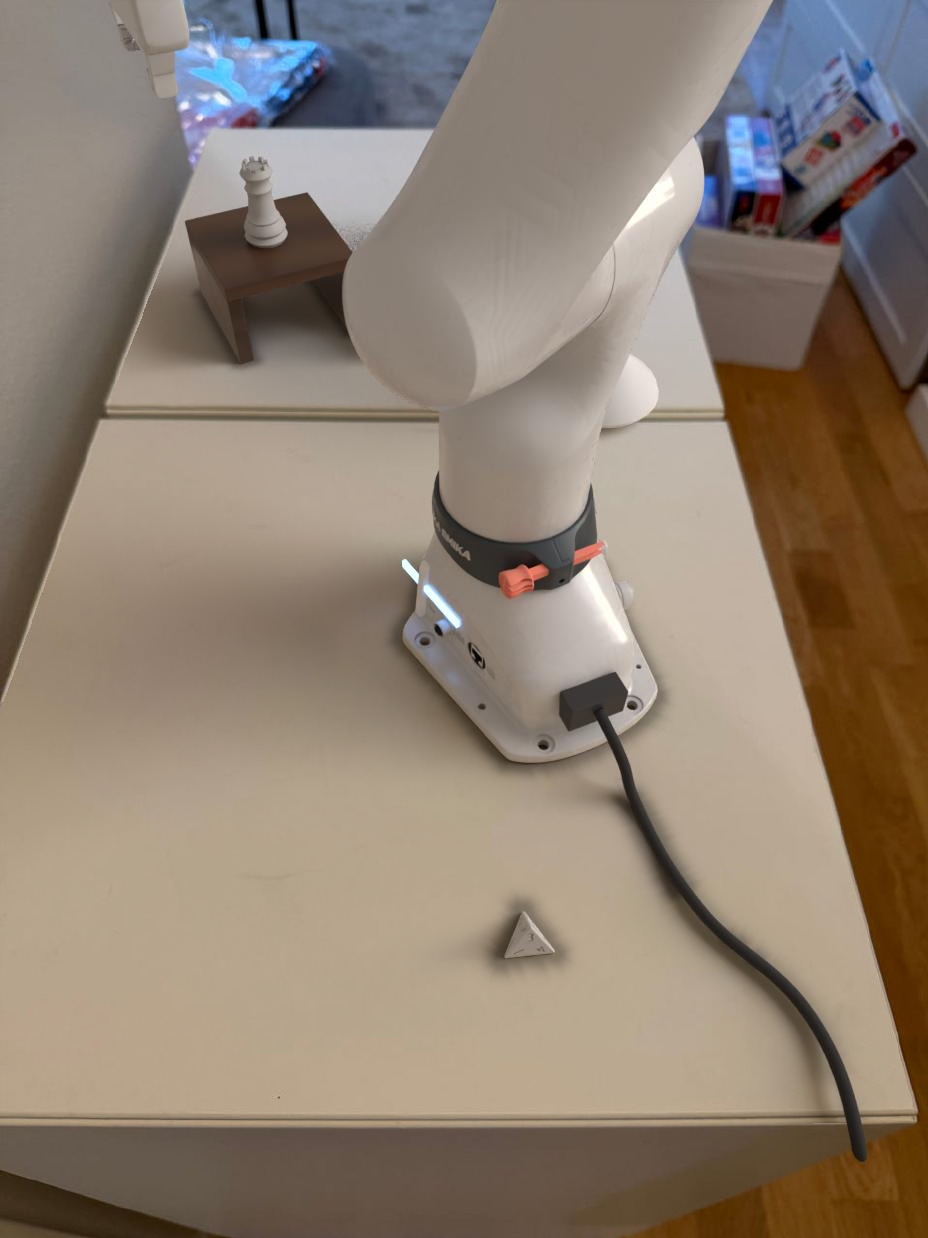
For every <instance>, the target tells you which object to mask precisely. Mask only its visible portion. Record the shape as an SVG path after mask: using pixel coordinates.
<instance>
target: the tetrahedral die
mask: <svg viewBox="0 0 928 1238" xmlns="http://www.w3.org/2000/svg"><path fill="white" fill-rule="evenodd" d="M555 952H556V950H555V949H554V948H553V946H552V945H551V944H550V942H549V941H548V939H546V937H545V936H544V935H543V933H542V932H541V931H540V929H539V927H538V926H536V924H535V923H534V922H533V920H532V919H531V918H530V917H529V915H528V914H527V912H526V911H525V910H523V911H521V914H520V916H519V919H518V921H517V924H516V925H515V929H514V931H513V933H512V936H511V938H510V941H509V943H508V945H507V949H506V951H505V953H504V956H503V957H504V959H511V958H521V957H529V956H539V955H547V954H548V955H549V954H555Z"/></svg>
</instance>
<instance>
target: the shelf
mask: <svg viewBox="0 0 928 1238" xmlns="http://www.w3.org/2000/svg"><path fill="white" fill-rule="evenodd" d="M273 200H274V204H275V207H276V210H277V211H279V213H280V216H282V217H283V219H284V221H285V224H286V226H285V228H286V230H287V232H288V233H287V237H286V239H285V240H284V242H283V243H282V244H280V245H278V246H276V247H273V248H258V247H255V246H253V245H252V244H250V243H249V242H248V241H247V240H246V238H245V233H246V231H245V229H244V223H245V220H246V219H247V218H246V216H247V214H248V205H246V206H241V207H237V208H233V209H229V210H225V211H220V212H215V213H212V214H208V215H207V214H206V215H203V216H199V217H195V218H189V219H186V220H184V224H185V229H186V233H187V237H188V241H189V245H190V249H191V255H192V258H193V263H194V267H195V271H196V274H197V280H198V284H199V288H200V292H201V295H202V297H203V299H204V301H205V303H206V305H207V306H208V308H209V310H210V311H211V313H212V315H213V317H214V318H215V320H216V323H217V324H218V326H219V327H220V329H221V331H222V333H223V335H224V336H225V338H226V341H227V342H228V343H229V346H230V347H231V349H232V351H233V353H234V355H235V356H236V358H237V360H238V362H239V363H240V365H243V364H246V363H250V362H254V361H255V358H254V357H255V356H254V352H253V348H252V347H253V346H252V343H251V342H252V341H251V338H250V333H249V328H248V323H247V318H246V313H245V308H244V304H243V299H246V298H250V297H254V296H258V295H262V294H265V293H269V292H273V291H277V290H280V289H285V288H288V287H292V286H296V285H300V284H304V283H307V282H312V281H313V282H314V284H315V285H316V286H317V288H318V289H319V291H320V293H321V294H322V296H323V297H324V298H325V299H326V301H327V302H328V304H329V305H330V307H331V309H333V311H334V313H335V314H336V316H337V317H338V319H339V320H340V321H341V323H342V324H343V326H344V327H345V328H346V330H347V331H348V329H347V326H346V322H345V317H344V311H343V302H342V284H343V275H344V270H345V267H346V264H347V262H348V260H349V258H350V256H351V254H352V253H353V252H354V251H352V249H351V248H350V247H349V245H348V244H347V242H346V241H345V240H344V239H343V237H342V236H341V234H339V232H338V230H337V229H336V228H335V227H334V226H333V224H332V223H331V222H330V219H328V217H327V216H326V214H325V213H324V212H323V211H322V210H321V208H320V207H319V205H318V204H317V202H315V200H314V199H313V198H312V195H310V194H309V192H308V191H306V192H301V193H297V194H294V195H293V194H292V195H289V196H285V197H281V198H276V199H273Z"/></svg>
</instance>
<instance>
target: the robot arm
mask: <svg viewBox="0 0 928 1238" xmlns="http://www.w3.org/2000/svg"><path fill="white" fill-rule="evenodd" d="M106 1H107V3H108V6H109V8H110V11H111V13H112V16H113V19H114V21H115V24H116V27H117V31H118V35H119V39H120V42H121V43H122V45H123V46H124V48H125V50H127V51H128V52H131V53H132V52H136V51H141V52H142V53H143V54H144V57H145V62H146V65H147V68H146V71H147V75H148V80H149V84H150V88H151V90H152V91H153V93H154V94H155V96H156V97H157V98H158V99H160V100H165V99H169V98H175V97H177V95H178V94H179V87H178V82H177V77H176V73H175V72H176V69H175V68H176V52H178V51H182V50H186V49H187V48H189V46H190V37H191V36H190V28H189V22H188V18H187V13H186V8H185V3H184V0H106ZM773 2H774V0H496V1H495V4H494V7H493V9H492V12H491V14H490V17H489V18H488V21H487V24H486V26H485V28H484V30H483V32H482V35H481V38H480V39H479V41H478V44H477V45H476V47H475V50H474V52H473V54H472V56H471V58H470V60H469V62H468V63H467V66H466V68H465V70H464V72H463V74H462V76H461V77H460V79H459V82H458V83H457V85H456V87H455V89H454V91H453V93H452V95H451V97H450V99H449V100H448V103H447V104H446V106H445V109H444V110H443V112H442V114H441V116H440V118H439V120H438V122H437V124H436V126H435V127H434V129H433V131H432V133H431V135H430V137H429V139H428V141H427V143H426V144H425V146H424V148H423V150H422V152H421V154H420V156H419V158H418V160H417V162H416V163H415V165H414V167H413V169H412V170H411V172H410V174H409V176H408V177H407V178H406V181H405V183H404V184H403V186H402V188H401V189H400V191H399V192H398V194H397V195H396V196H395V198H394V200H393V201H392V202H391V204H390V205H389V207H388V208H387V210H386V211H385V212H384V213H383V215H382V216H381V217H380V219H379V220H378V221H377V223H376V224H374V226H373V228H372V229H370V231H369V232H368V233H367V235H366V236H365V237H364V238H363V240H362V241H361V242H360V243H359V244H358V246H356V248H355V249H354V250H353V251H352V252H353V253H352V254H351V256H350V258H349V260H348V262H347V264H346V267H345V270H344V275H343V284H342V302H343V311H344V317H345V322H346V326H347V329H348V330H347V329H346V330H347V333H348V335H349V338H350V341H351V343H352V345H353V347H354V349H355V351H356V353H357V355H358V357H359V359H360V360H361V362H362V363H363V365H364V367H366V369H367V370H368V371H369V373H370V374H371V375H372V376H373V377H374V378H375V380H377V381H378V382H379V383H380V384H381V386H383V387H384V388H385V389H387V390H388V391H389V392H390V393H392V394H393V395H395V396H396V397H398V398H399V399H402V400H403V401H405V402H407V403H408V404H411V405H414V406H416V407H419V408H421V409H424V410H429V411H434V412H438V471H437V473H436V475H435V478H434V483H433V490H432V495H431V514H432V519H433V520H432V521H433V528H434V532H433V535H432V537H431V539H430V542H429V543H428V546H427V548H426V550H425V552H424V555H423V557H422V559H421V562H420V564H419V568H418V571H417V570H416V569H415V568H414V567H413V566H412V565H411V564H410V562H409V561H408V560H407V559H403V560H402V561H401V562H402V563H401V564H402V568H403V570H405V571H406V573H407V574H408V575H409V576H410V577H411V578H412V579H413V580H414V582H415V583H416V584H417V588H416V600H415V609H414V611H413V612H412V614H411V615H410V616H409V618H408V619H407V621H406V622H405V624H404V626H403V629H402V637H401V639H402V643H403V644H404V646H405V647H406V648H407V649H408V651H409V652H410V653H411V654H412V655H413V656H414V657H415V659H416V660H417V661H419V663H420V664H421V666H423V668H424V669H426V671H427V672H428V673H429V674H430V675H431V676H432V678H434V680H435V681H436V682H437V683H438V684H439V685H440V686H441V687H442V689H443V690H444V691H445V692H446V693H447V694H448V696H450V698H451V699H452V700H453V701H454V702H455V703H456V704H457V705H458V707H459V708H460V709H462V711H463V712H464V713H465V714H466V715H467V717H468V718H469V719H470V721H472V722H473V724H475V726H476V727H477V728H478V729H479V730H480V731H481V733H482V734H483V735H484V736H485V737H486V738H487V739H488V740H489V741H490V742H491V744H492V745H493V746H494V747H495V748H496V749H497V750H498V751H499V753H500V754H502V756H503V757H504V758H506V759H507V760H509V761H511V762H516V763H526V764H531V763H532V764H534V763H537V764H538V763H546V762H547V763H548V762H554V761H559V760H563V759H567V758H570V757H573V756H576V755H579V754H580V755H581V754H583V753H585V752H587V751H589V750H592V749H595V748H596V747H597V748H598V747H599V746H601V745H603V744H605V743H608V745H609V747H610V750H611V751H612V754H613V757H614V759H615V761H616V764H617V766H618V770H619V773H620V777H621V781H622V786H623V790H624V792H625V793H624V794H625V795H626V798H627V800H628V803H629V805H630V807H631V809H632V811H633V813H634V817H635V818H636V820H637V822H638V824H639V826H640V828H641V830H642V831H643V835H644V836H645V838H646V840H647V842H648V844H649V846H650V848H651V850H652V852H653V854H654V856H655V857H656V860H657V861H658V863H659V864H660V866H661V868H662V869H663V871H664V873H665V874H666V876H667V878H668V879H669V880H670V881H671V883H672V885H673V887H675V889H676V890H677V892H678V893H679V894H680V896H681V897H682V899H683V900H684V901H685V902H686V904H687V905H688V906H689V908H690V909H691V910H692V911H693V913H694V914H695V915H696V916H697V918H699V920H700V921H701V922H702V923H703V925H705V927H706V928H707V929H708V930H709V931H710V932H711V933H712V934H713V935H714V936H715V937H716V938H717V939H719V940H720V941H721V942H722V943H724V945H726V947H728V948H729V949H730V950H731V951H733V952H734V953H735V954H736V955H737V956H739V957H740V958H742V959H743V960H744V961H745V962H746V963H748V964H749V965H750V966H752V967H753V968H754V969H755V970H757V971H758V972H759V973H760V974H762V975H763V976H764V977H765V978H767V980H769V981H770V982H771V983H772V984H773V985H774V986H775V987H776V988H778V989H779V991H780V992H781V993H782V994H783V995H784V996H785V997H786V998H787V999H788V1000H789V1001H790V1002H791V1004H792V1005H793V1006H794V1007H795V1008H796V1010H797V1012H798V1013H799V1015H801V1017H802V1018H803V1020H804V1021H805V1022H806V1024H807V1025H808V1027H809V1029H810V1031H811V1032H812V1034H813V1035H814V1037H815V1039H816V1041H817V1043H818V1045H819V1046H820V1048H821V1050H822V1052H823V1055H824V1057H825V1058H826V1061H827V1063H828V1066H829V1068H830V1070H831V1073H832V1076H833V1078H834V1082H835V1085H836V1088H837V1091H838V1094H839V1098H840V1102H841V1105H842V1108H843V1114H844V1117H845V1122H846V1127H847V1131H848V1136H849V1141H850V1147H851V1152H852V1154H853V1157H854V1158H855V1159H856V1160H857V1161H858V1162H862V1163H865V1162H867V1160H868V1149H867V1143H866V1138H865V1137H866V1136H865V1132H864V1128H863V1123H862V1118H861V1115H860V1111H859V1107H858V1103H857V1098H856V1095H855V1092H854V1089H853V1086H852V1082H851V1080H850V1077H849V1074H848V1072H847V1069H846V1066H845V1064H844V1061H843V1059H842V1057H841V1054H840V1052H839V1050H838V1048H837V1046H836V1044H835V1043H834V1041H833V1039H832V1036H831V1034H830V1033H829V1031H828V1030H827V1028H826V1026H825V1025H824V1023H823V1022H822V1020H821V1018H820V1017H819V1016H818V1014H817V1013H816V1011H815V1010H814V1008H813V1007H812V1006H811V1004H810V1003H809V1002H808V1001H807V999H806V998H805V996H804V995H803V994H802V993H801V992H800V991H799V989H797V988H796V986H795V985H793V983H792V982H791V981H790V980H789V979H788V978H787V977H785V975H783V974H782V972H780V971H779V970H778V969H777V968H775V967H774V966H773V965H772V964H771V963H770V962H769V961H767V960H766V959H764V958H763V957H762V956H760V955H759V954H758V953H757V952H756V951H754V950H753V949H752V948H750V947H749V946H748V945H746V944H745V943H744V942H743V941H742V940H740V939H739V938H738V937H737V936H735V935H734V934H733V933H732V932H731V931H730V930H728V929H727V928H726V927H725V925H723V924H722V923H721V922H720V921H719V920H718V919H717V918H716V917H715V916H714V915H713V914H712V913H711V912H710V911H709V909H708V908H707V907H706V906H705V904H704V903H703V902H702V901H701V899H700V898H699V896H698V895H696V893H695V891H694V890H693V888H692V887H691V885H689V884H688V882H687V881H686V879H685V878H684V877H683V875H682V873H681V872H680V871H679V868H678V867H677V866H676V864H675V863H674V861H673V860H672V858H671V857H670V855H669V852H667V850H666V848H665V846H664V845H663V843H662V841H661V839H660V837H659V835H658V834H657V831H656V829H655V827H654V825H653V823H652V821H651V819H650V817H649V815H648V813H647V811H646V808H645V806H644V804H643V802H642V800H641V797H640V794H639V792H638V790H637V787H636V784H635V779H634V774H633V770H632V766H631V763H630V760H629V758H628V756H627V753H626V750H625V749H624V746H623V744H622V741H621V740H620V737H619V736H620V735H622V734H623V733H625V732H627V731H628V730H629V729H631V728H632V727H634V725H637V723H638V722H639V721H640V720H642V718H644V717H645V715H646V714H647V713H648V712H649V711H650V709H651V708H652V707H653V705H654V702H655V701H656V699H657V697H658V689H659V688H658V685H657V681H656V679H655V677H654V675H653V673H652V670H651V669H650V666H649V665H648V662H647V660H646V659H645V656H644V654H643V652H642V650H641V647H640V645H639V643H638V641H637V639H636V637H635V635H634V632H633V630H632V627H631V625H630V622H629V619H628V617H627V614H626V612H625V610H628V609H631V608H633V607H634V606H635V602H636V596H635V591H634V588H633V586H632V585H631V582H629V581H628V580H626V579H624V580H618V581H615V582H614V580H613V576H612V573H611V571H610V568H609V567H608V563H607V561H606V559H605V556H607V555H608V553H609V546H608V542H607V541H606V539H605V538H598V528H597V527H598V526H597V516H596V514H597V513H598V512H597V503H596V499H595V498H594V497H595V496H594V489H593V484H592V478H593V472H594V467H595V462H596V458H597V452H598V448H599V447H598V446H599V441H600V438H601V437H600V436H601V431H602V428H601V427H602V424H603V420H604V417H605V414H606V410H607V408H608V405H609V402H610V400H611V397H612V394H613V392H614V390H615V387H616V385H617V382H618V380H619V378H620V375H621V373H622V371H623V369H624V366H625V364H626V362H627V359H628V357H629V355H630V354H631V353H632V350H633V349H634V345H635V343H636V340H637V339H638V336H639V333H640V331H641V328H642V326H643V323H644V321H645V318H646V316H647V313H648V311H649V308H650V306H651V303H652V301H653V298H654V296H655V293H656V292H657V290H658V287H659V285H660V282H661V281H662V278H663V276H664V274H665V272H666V270H667V268H668V266H669V264H670V263H671V261H672V259H673V257H674V255H675V253H676V251H678V248H679V246H680V245H681V243H682V242H683V240H684V239H685V237H686V235H687V233H688V232H689V230H690V228H691V227H692V225H693V224H694V222H695V221H696V219H697V216H698V214H699V212H700V209H701V206H702V203H703V199H704V198H703V197H704V191H705V169H704V162H703V158H702V154H701V150H700V148H699V145H698V142H697V140H696V138H695V136H696V135H697V134H698V132H699V131H700V130H701V129H702V127H703V126H705V124H706V123H707V121H708V120H709V119H710V117H711V115H712V114H713V113H714V111H715V109H716V108H717V107H718V105H719V103H720V101H721V100H722V97H723V96H724V93H725V92H726V90H727V88H728V86H729V84H730V83H731V81H732V79H733V77H734V75H735V73H736V71H737V69H738V67H739V65H740V64H741V62H742V60H743V58H744V56H745V54H746V52H747V51H748V49H749V47H750V44H751V43H752V41H753V39H754V38H755V35H756V34H757V32H758V30H759V28H760V26H761V24H762V22H763V20H764V18H765V17H766V15H767V13H768V11H769V9H770V7H771V5H772V3H773ZM423 643H428V644H427V645H424V644H423ZM630 706H631V707H633V708H635V709H630V708H629V707H630ZM541 745H542V746H543V745H544V746H546V747H547V748H546V749H542V748H540V747H539V746H541Z"/></svg>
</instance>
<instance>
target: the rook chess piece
mask: <svg viewBox="0 0 928 1238" xmlns="http://www.w3.org/2000/svg"><path fill="white" fill-rule="evenodd" d="M248 159H249V161H248ZM248 159H247V158H244V159H242V161H241V162H242V163H240V164H241V168H240V170H239V173H238V174H239V176H240V178H241V179H242V180H243V181H244V182H245V185H244V187H243V189H244V191H245V192H246V194H247V206H248V214H247V216H246V218H247V219H246V220H245V223H244V229H245V231H246V233H245V238H246V240H247V241H248V242H249V243H250V244H252V245H253V246H255V247H258V248H273V247H276V246H278V245H280V244H282V243H283V242H284V240H285V239H286V237H287V233H288V232H287V230H286V228H285V226H286V224H285V221H284V219H283V217H282V216H280V213H279V211H277V210H276V207H275V204H274V200H275V199H274V198H273V192H272V190H273V187H274V186H273V184H272V182H271V181H270V179H271V177H272V175H273V172H274V171H273V168H272V167H271V166H270V165H269V163H268V162H269V161H268V159H264V157H263V156H257V160H256V159H255V156H254V155H253V156H248Z"/></svg>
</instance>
